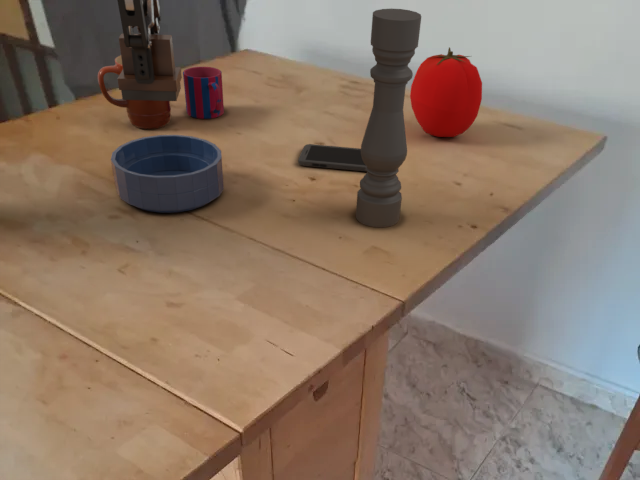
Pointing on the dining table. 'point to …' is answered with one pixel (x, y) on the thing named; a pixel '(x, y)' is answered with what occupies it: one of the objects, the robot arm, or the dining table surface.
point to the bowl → (168, 173)
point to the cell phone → (332, 157)
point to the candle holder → (387, 116)
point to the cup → (203, 92)
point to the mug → (137, 103)
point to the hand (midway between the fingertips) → (149, 74)
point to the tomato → (446, 94)
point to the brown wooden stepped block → (164, 72)
